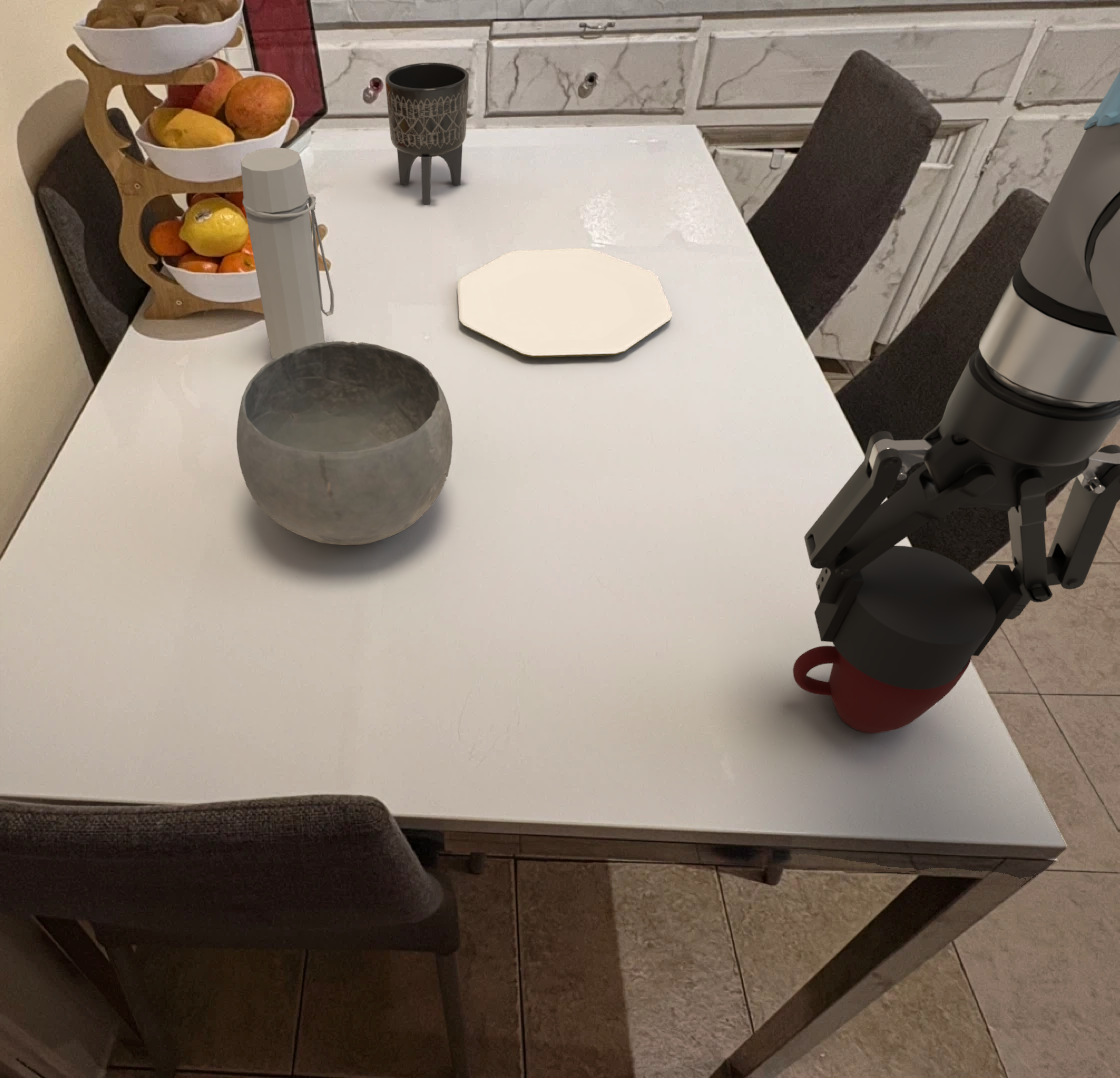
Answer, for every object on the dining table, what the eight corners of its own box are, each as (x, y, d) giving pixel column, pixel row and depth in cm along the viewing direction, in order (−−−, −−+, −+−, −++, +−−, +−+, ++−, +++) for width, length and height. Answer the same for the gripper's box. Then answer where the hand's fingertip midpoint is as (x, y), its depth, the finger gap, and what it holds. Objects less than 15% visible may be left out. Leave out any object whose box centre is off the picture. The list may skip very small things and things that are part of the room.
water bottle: (285, 382, 104) (250, 179, 86) (261, 352, 109) (224, 154, 91) (351, 360, 107) (331, 159, 89) (325, 332, 112) (302, 136, 94)
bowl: (458, 580, 80) (459, 458, 69) (243, 588, 80) (212, 469, 70) (446, 443, 94) (445, 325, 84) (264, 451, 95) (241, 335, 84)
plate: (685, 361, 103) (687, 350, 102) (461, 366, 105) (461, 356, 104) (644, 255, 123) (646, 245, 122) (455, 261, 124) (455, 251, 123)
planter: (465, 206, 137) (466, 89, 124) (386, 206, 138) (380, 90, 126) (469, 174, 146) (470, 61, 133) (395, 174, 147) (390, 62, 135)
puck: (978, 628, 61) (1011, 582, 57) (943, 712, 56) (976, 667, 52) (851, 573, 65) (874, 527, 62) (807, 647, 60) (830, 601, 57)
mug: (795, 757, 65) (837, 683, 58) (765, 672, 71) (800, 594, 64) (934, 756, 65) (993, 681, 58) (893, 670, 70) (942, 592, 63)
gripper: (1246, 340, 46) (1039, 608, 62) (823, 322, 49) (731, 581, 65) (1329, 425, 40) (1080, 693, 56) (851, 398, 43) (743, 659, 59)
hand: (894, 633), depth 61 cm, fingers closed on puck, 9 cm apart
